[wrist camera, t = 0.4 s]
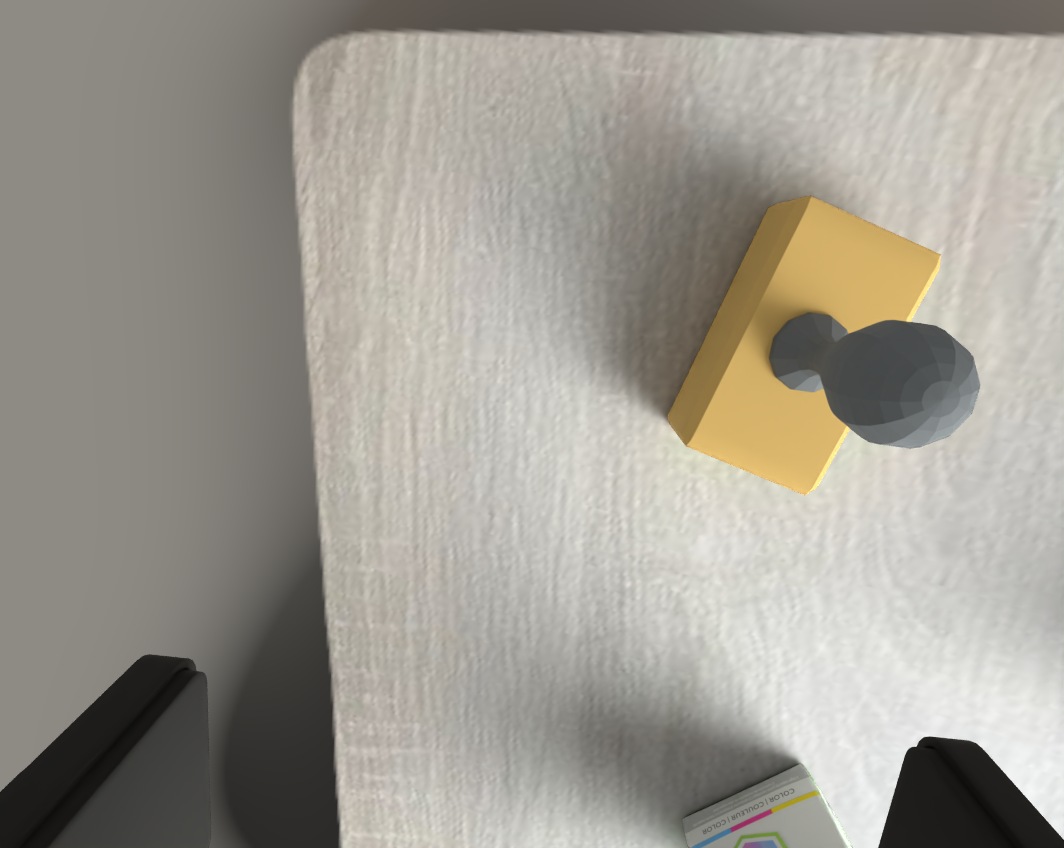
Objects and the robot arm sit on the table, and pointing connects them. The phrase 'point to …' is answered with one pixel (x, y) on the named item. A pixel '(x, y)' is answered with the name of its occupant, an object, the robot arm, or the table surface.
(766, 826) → the ink box
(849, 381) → the rubber stamp
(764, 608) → the table surface
